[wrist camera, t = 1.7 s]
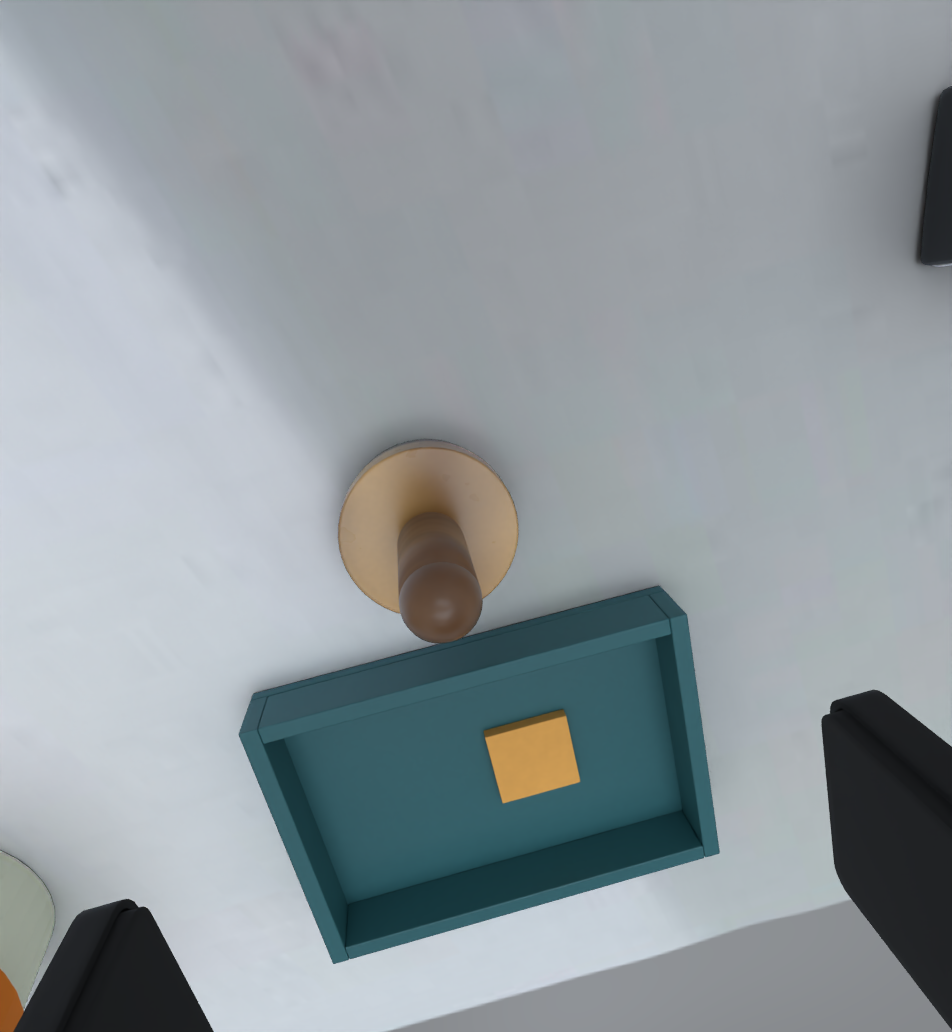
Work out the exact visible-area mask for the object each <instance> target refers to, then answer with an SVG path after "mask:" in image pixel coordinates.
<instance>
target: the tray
mask: <svg viewBox="0 0 952 1032" xmlns="http://www.w3.org/2000/svg"><path fill="white" fill-rule="evenodd" d="M561 709H563V710H564V712H565V714H566V717H567V722H568V726H569V731H570V735H571V740H572V745H573V749H574V754H575V759H576V763H577V768H578V772H579V777H580V782H579V783H575V784H571V785H568V786H564V787H561V788H557V789H553V790H550V791H546V792H543V793H539V794H535V795H532V796H528V797H525V798H521V799H517V800H514V801H510V802H507V803H502V800H501V796H500V792H499V788H498V785H497V781H496V777H495V773H494V770H493V766H492V762H491V758H490V755H489V751H488V747H487V744H486V740H485V736H484V730H488V729H491V728H495V727H499V726H502V725H506V724H510V723H513V722H517V721H521V720H524V719H528V718H532V717H535V716H539V715H543V714H546V713H550V712H554V711H557V710H561ZM239 737H240V739H241V742H242V744H243V746H244V749H245V751H246V754H247V756H248V759H249V761H250V763H251V766H252V768H253V771H254V773H255V775H256V778H257V780H258V783H259V785H260V788H261V790H262V792H263V795H264V797H265V800H266V802H267V804H268V807H269V809H270V812H271V814H272V817H273V819H274V821H275V824H276V826H277V829H278V831H279V833H280V836H281V838H282V841H283V843H284V846H285V848H286V850H287V853H288V855H289V858H290V860H291V862H292V865H293V867H294V870H295V872H296V875H297V877H298V879H299V882H300V884H301V887H302V889H303V892H304V894H305V896H306V899H307V901H308V904H309V906H310V908H311V911H312V913H313V916H314V918H315V921H316V923H317V925H318V928H319V930H320V933H321V935H322V937H323V940H324V942H325V945H326V947H327V950H328V952H329V954H330V957H331V959H332V962H333V964H336V963H339V962H343V961H346V960H349V958H350V959H353V958H356V957H359V956H363V955H366V954H370V953H373V952H377V951H380V950H384V949H387V948H391V947H394V946H398V945H401V944H405V943H408V942H412V941H415V940H419V939H422V938H426V937H429V936H433V935H436V934H440V933H443V932H447V931H450V930H454V929H457V928H461V927H464V926H468V925H471V924H475V923H478V922H482V921H485V920H489V919H492V918H496V917H499V916H503V915H506V914H510V913H513V912H517V911H520V910H524V909H527V908H531V907H534V906H538V905H541V904H545V903H548V902H552V901H555V900H559V899H562V898H566V897H569V896H573V895H576V894H580V893H583V892H587V891H590V890H594V889H597V888H601V887H604V886H608V885H611V884H615V883H618V882H622V881H625V880H629V879H632V878H636V877H639V876H643V875H646V874H649V873H653V872H656V871H660V870H663V869H667V868H670V867H674V866H677V865H681V864H684V863H688V862H691V861H695V860H698V859H702V858H704V856H705V857H709V856H712V855H716V854H719V853H720V852H719V844H718V837H717V830H716V822H715V815H714V808H713V801H712V793H711V786H710V779H709V771H708V764H707V757H706V750H705V742H704V735H703V728H702V721H701V713H700V706H699V699H698V691H697V684H696V677H695V670H694V662H693V655H692V648H691V641H690V633H689V626H688V619H687V614H686V613H685V612H684V611H683V610H682V609H681V608H680V607H679V606H678V605H677V604H676V602H675V601H674V600H673V599H672V598H671V597H670V596H669V595H668V594H667V593H666V592H665V591H664V590H663V589H662V588H661V587H660V586H657V587H653V588H649V589H645V590H642V591H638V592H634V593H630V594H627V595H623V596H619V597H615V598H612V599H608V600H604V601H600V602H597V603H593V604H589V605H585V606H582V607H578V608H574V609H570V610H567V611H563V612H559V613H555V614H551V615H548V616H544V617H540V618H536V619H533V620H529V621H525V622H521V623H518V624H514V625H510V626H506V627H503V628H499V629H495V630H491V631H488V632H484V633H480V634H476V635H473V636H469V637H465V638H461V639H458V640H455V641H453V642H449V643H442V644H439V645H435V646H431V647H427V648H424V649H420V650H416V651H412V652H409V653H405V654H401V655H397V656H394V657H390V658H386V659H382V660H378V661H375V662H371V663H367V664H363V665H360V666H356V667H352V668H348V669H345V670H341V671H337V672H333V673H330V674H326V675H322V676H318V677H315V678H311V679H307V680H303V681H300V682H296V683H292V684H288V685H284V686H281V687H277V688H273V689H269V690H266V691H262V692H258V693H254V694H253V696H252V699H251V701H250V704H249V707H248V709H247V712H246V715H245V718H244V721H243V723H242V726H241V729H240V732H239Z"/></svg>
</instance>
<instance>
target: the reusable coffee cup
mask: <svg viewBox="0 0 952 1032" xmlns="http://www.w3.org/2000/svg"><path fill="white" fill-rule="evenodd" d="M54 924H55V908H54V905H53V902H52V898H51V895H50V893H49V892H48V890H47V888H46V887H45V885H44V883H43V882H42V880H41V879H40V878H39V877H38V876H37V875H36V874H35V873H34V872H33V871H32V870H31V869H30V868H29V867H27V866H26V865H24V864H23V863H22V862H20V861H19V860H18V859H16V858H14V857H12V856H10V855H8V854H6V853H4V852H2V851H0V1032H13V1031H14V1029H15V1028H16V1026H17V1024H18V1022H19V1020H20V1018H21V1016H22V1015H23V1013H24V1012H23V1009H24V1007H25V1004H26V1002H27V999H28V996H29V994H30V991H31V989H32V986H33V983H34V981H35V978H36V975H37V973H38V970H39V968H40V965H41V962H42V960H43V957H44V955H45V952H46V949H47V947H48V944H49V941H50V939H51V936H52V933H53V929H54Z"/></svg>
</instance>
